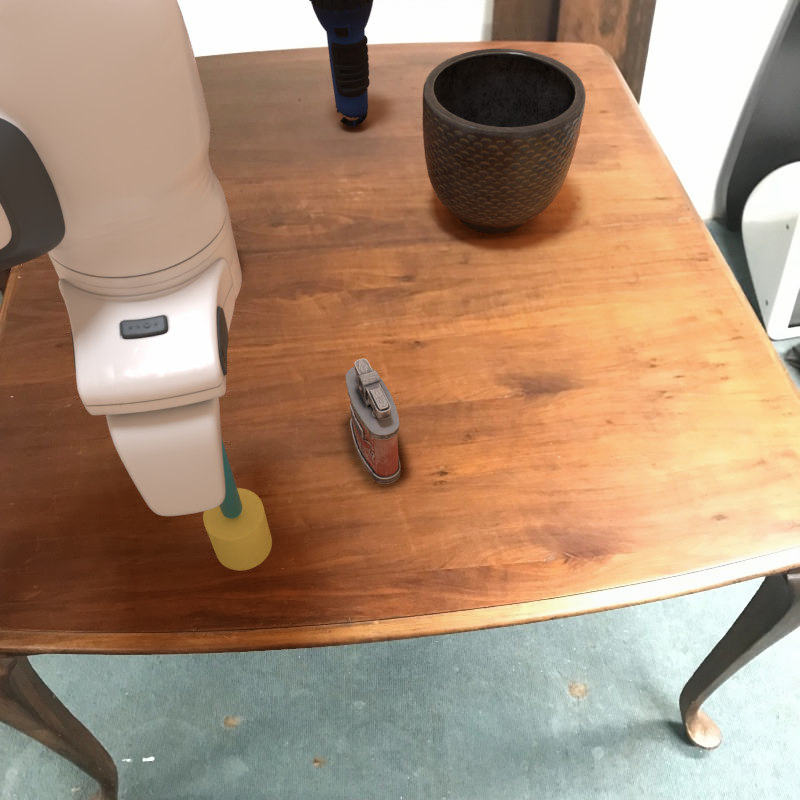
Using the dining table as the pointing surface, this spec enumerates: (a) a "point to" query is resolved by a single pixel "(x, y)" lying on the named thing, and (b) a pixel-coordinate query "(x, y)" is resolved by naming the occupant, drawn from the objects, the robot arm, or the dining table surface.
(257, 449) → the dining table surface
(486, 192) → the planter
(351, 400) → the lighter
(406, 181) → the dining table surface
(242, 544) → the brush
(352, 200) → the dining table surface
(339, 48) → the flashlight
